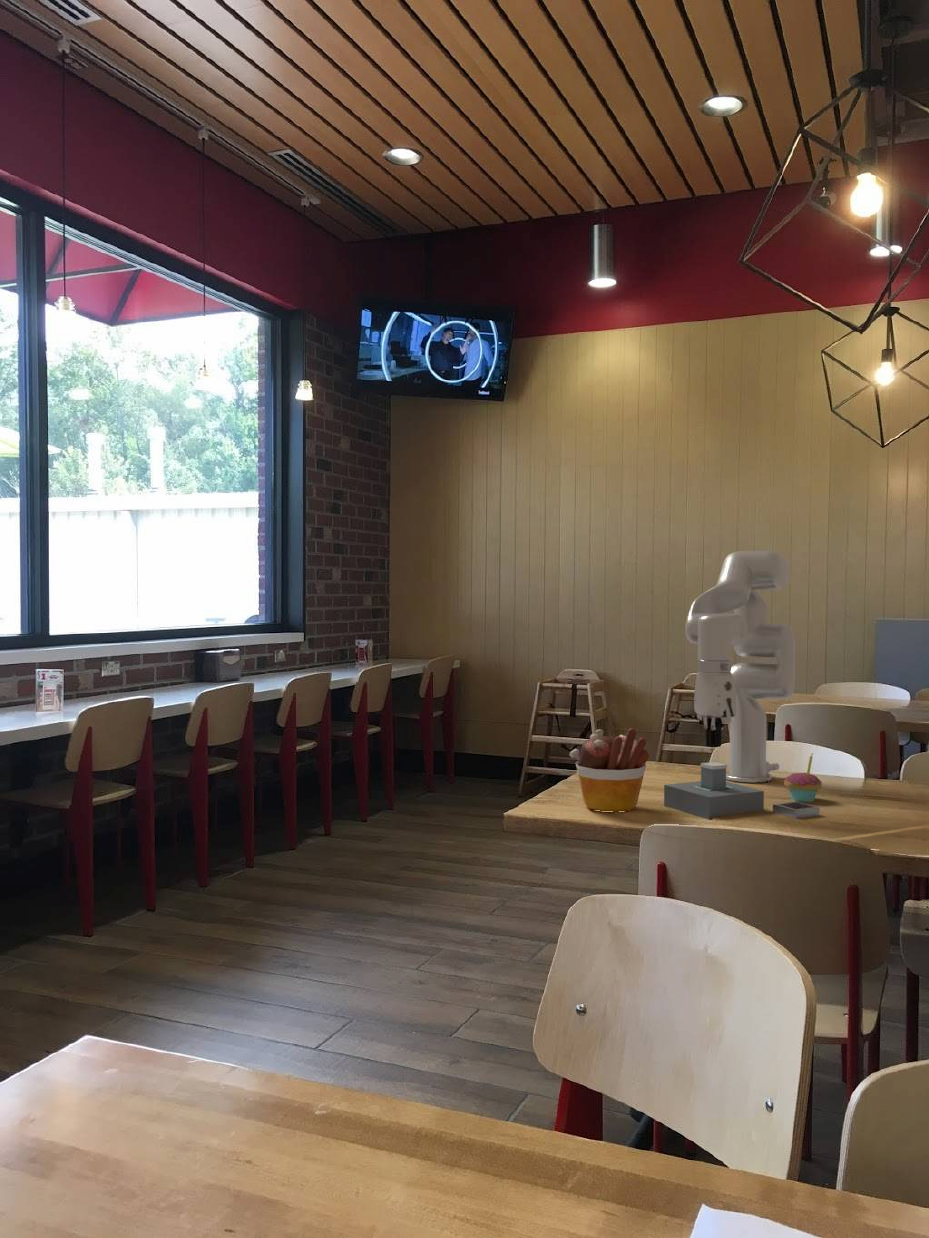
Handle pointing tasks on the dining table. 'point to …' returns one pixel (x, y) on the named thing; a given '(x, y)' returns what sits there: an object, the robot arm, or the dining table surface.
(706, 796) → the port block
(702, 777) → the plug
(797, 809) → the box
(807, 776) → the cupcake
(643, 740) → the bucket of meat
